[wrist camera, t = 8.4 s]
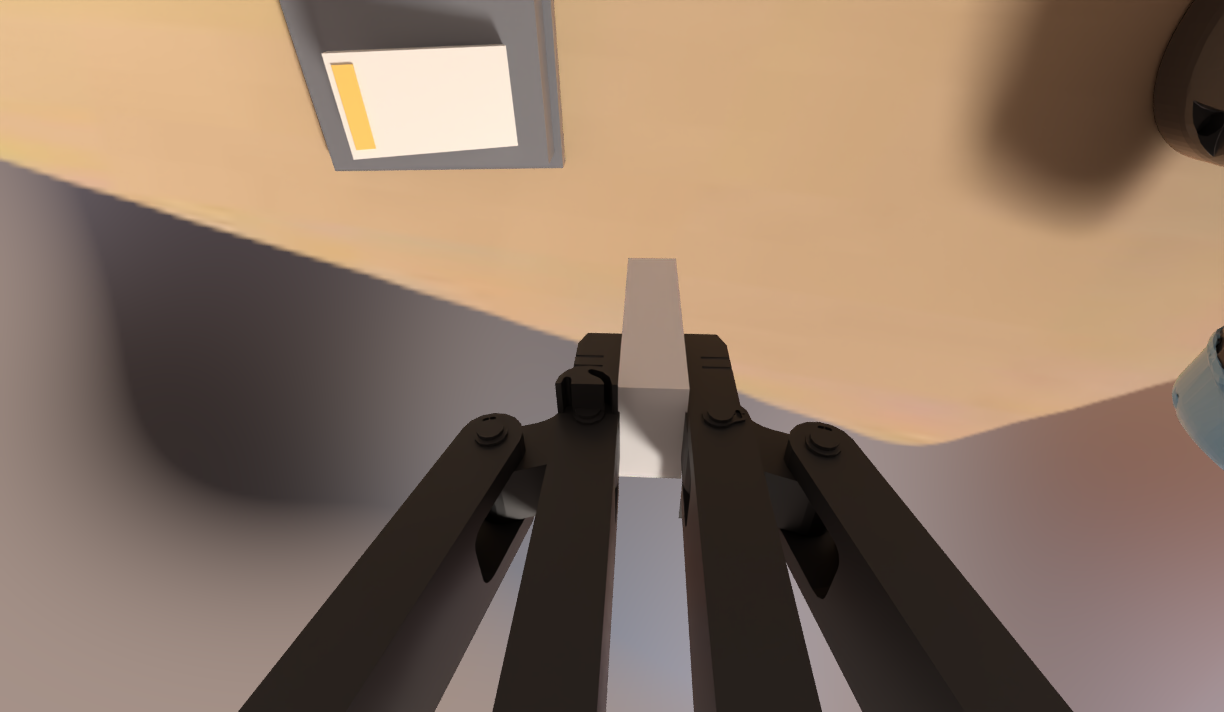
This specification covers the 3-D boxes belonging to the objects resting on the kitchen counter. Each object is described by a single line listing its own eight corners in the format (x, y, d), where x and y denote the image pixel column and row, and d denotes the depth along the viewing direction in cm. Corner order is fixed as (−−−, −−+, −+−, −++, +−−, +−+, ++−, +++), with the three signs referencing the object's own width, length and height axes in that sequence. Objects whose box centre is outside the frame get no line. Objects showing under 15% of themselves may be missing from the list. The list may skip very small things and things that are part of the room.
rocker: (502, 43, 28) (506, 45, 26) (514, 140, 31) (518, 146, 29) (327, 51, 26) (320, 53, 24) (357, 152, 29) (353, 160, 27)
